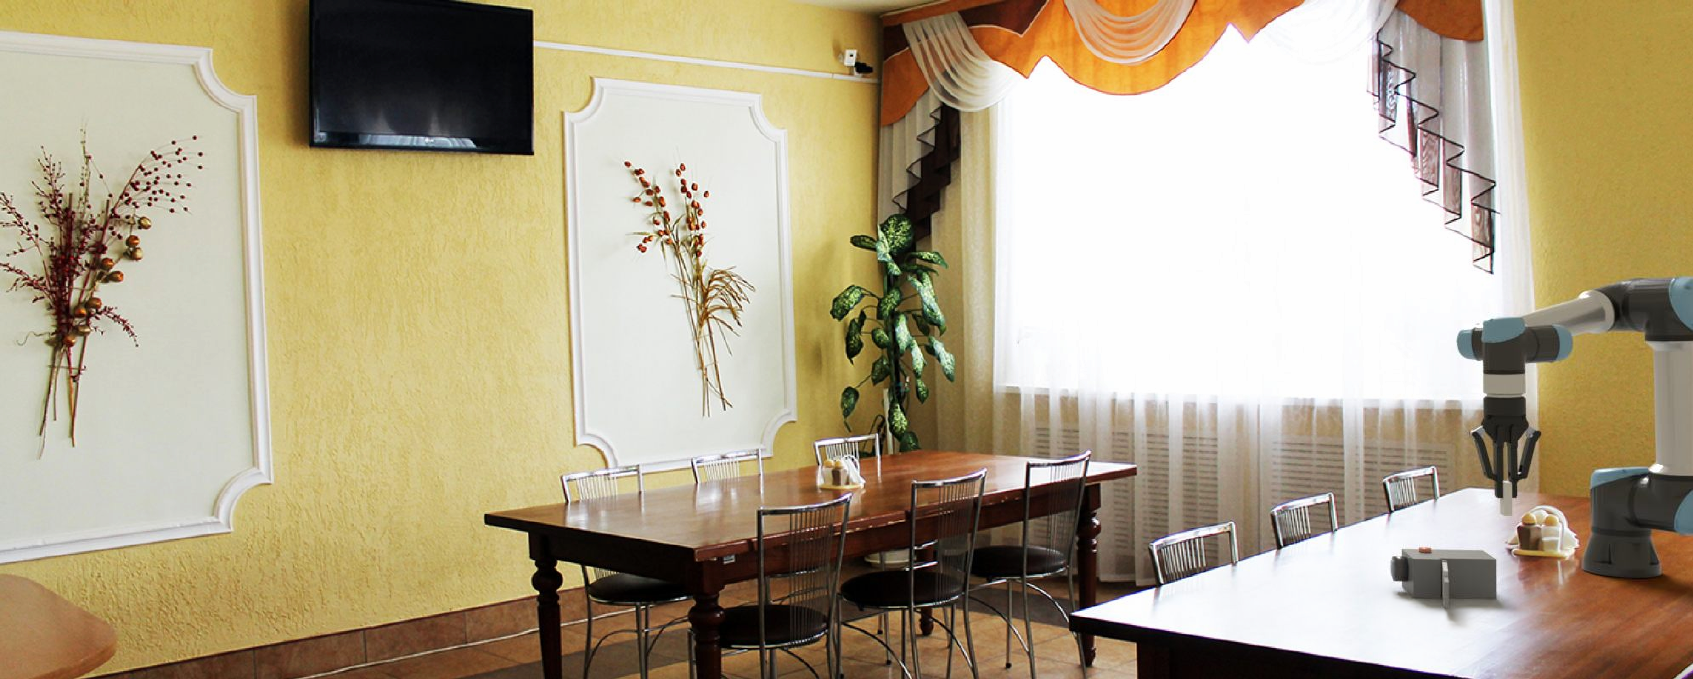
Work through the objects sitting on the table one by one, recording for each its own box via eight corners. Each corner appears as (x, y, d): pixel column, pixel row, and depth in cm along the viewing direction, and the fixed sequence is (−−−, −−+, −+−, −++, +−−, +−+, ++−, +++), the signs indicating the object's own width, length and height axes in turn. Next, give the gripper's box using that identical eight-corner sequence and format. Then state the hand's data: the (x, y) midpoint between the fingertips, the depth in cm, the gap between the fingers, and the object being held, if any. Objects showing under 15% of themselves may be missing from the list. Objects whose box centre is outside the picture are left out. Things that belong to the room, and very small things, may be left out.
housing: (1482, 588, 278) (1482, 546, 278) (1498, 599, 267) (1497, 556, 267) (1388, 585, 282) (1388, 544, 282) (1399, 597, 271) (1399, 554, 271)
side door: (1449, 615, 255) (1449, 576, 254) (1444, 614, 255) (1443, 575, 255) (1447, 596, 270) (1446, 560, 270) (1441, 596, 270) (1441, 559, 270)
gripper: (1534, 393, 263) (1535, 511, 264) (1463, 394, 266) (1465, 511, 267) (1546, 396, 256) (1548, 517, 257) (1474, 397, 258) (1476, 517, 259)
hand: (1506, 514), depth 262 cm, fingers closed
